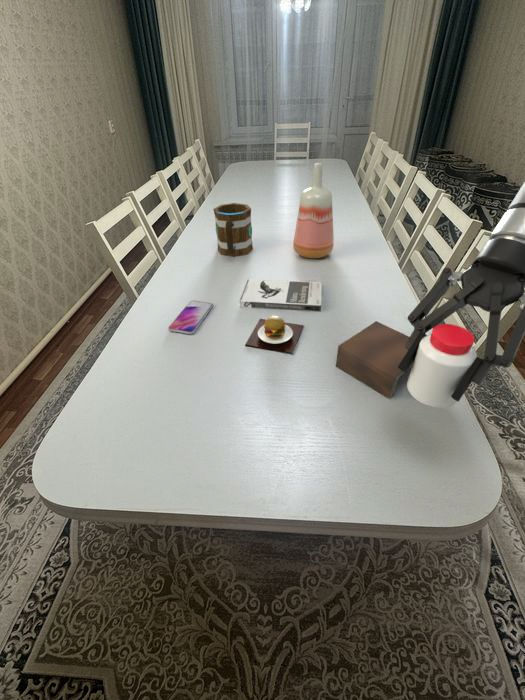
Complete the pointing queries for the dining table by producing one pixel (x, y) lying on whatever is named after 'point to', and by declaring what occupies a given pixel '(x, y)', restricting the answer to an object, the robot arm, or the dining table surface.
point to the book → (282, 295)
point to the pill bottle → (441, 365)
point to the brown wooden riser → (374, 357)
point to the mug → (233, 229)
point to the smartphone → (190, 317)
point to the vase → (314, 220)
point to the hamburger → (275, 335)
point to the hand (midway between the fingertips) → (427, 383)
